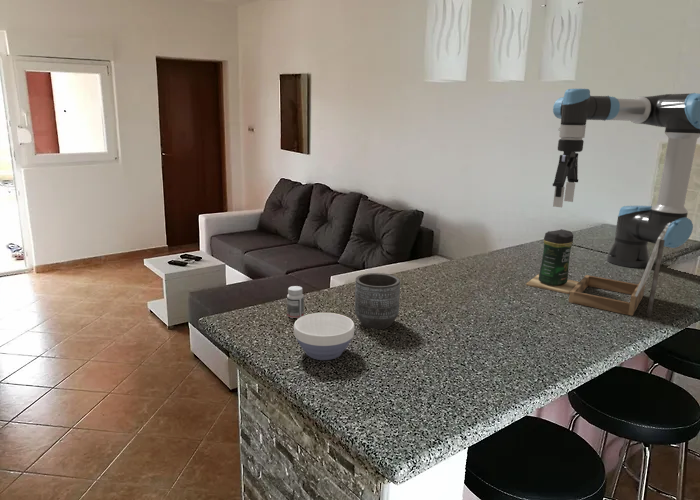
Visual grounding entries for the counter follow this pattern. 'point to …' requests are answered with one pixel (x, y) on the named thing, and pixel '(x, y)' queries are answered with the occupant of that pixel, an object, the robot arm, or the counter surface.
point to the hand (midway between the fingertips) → (563, 204)
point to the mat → (559, 288)
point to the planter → (377, 299)
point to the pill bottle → (295, 302)
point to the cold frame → (621, 287)
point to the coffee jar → (556, 257)
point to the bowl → (324, 334)
